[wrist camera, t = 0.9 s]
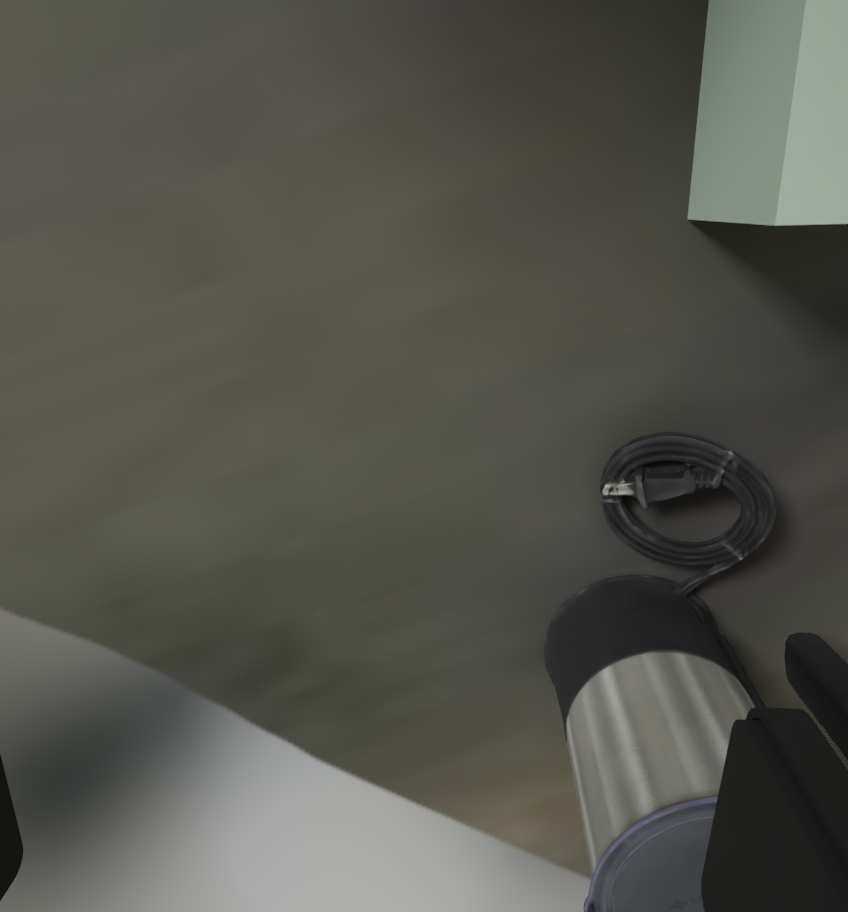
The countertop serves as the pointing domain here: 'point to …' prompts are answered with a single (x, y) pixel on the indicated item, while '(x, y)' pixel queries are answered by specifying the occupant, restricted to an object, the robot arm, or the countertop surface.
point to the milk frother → (666, 681)
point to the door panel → (773, 114)
